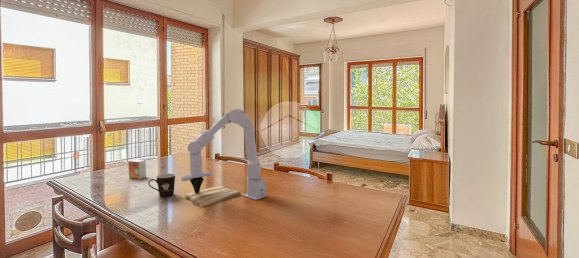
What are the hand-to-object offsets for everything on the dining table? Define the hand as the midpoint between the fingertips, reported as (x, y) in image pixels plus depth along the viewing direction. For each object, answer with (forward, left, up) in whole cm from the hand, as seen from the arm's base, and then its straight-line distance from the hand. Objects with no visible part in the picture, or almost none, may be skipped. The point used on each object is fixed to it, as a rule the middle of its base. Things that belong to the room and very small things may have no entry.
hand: (196, 192), depth 144 cm
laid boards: (-11, -5, -2) cm, 12 cm away
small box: (+58, +6, -2) cm, 59 cm away
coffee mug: (+13, +10, -2) cm, 17 cm away
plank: (-2, -5, -2) cm, 5 cm away
